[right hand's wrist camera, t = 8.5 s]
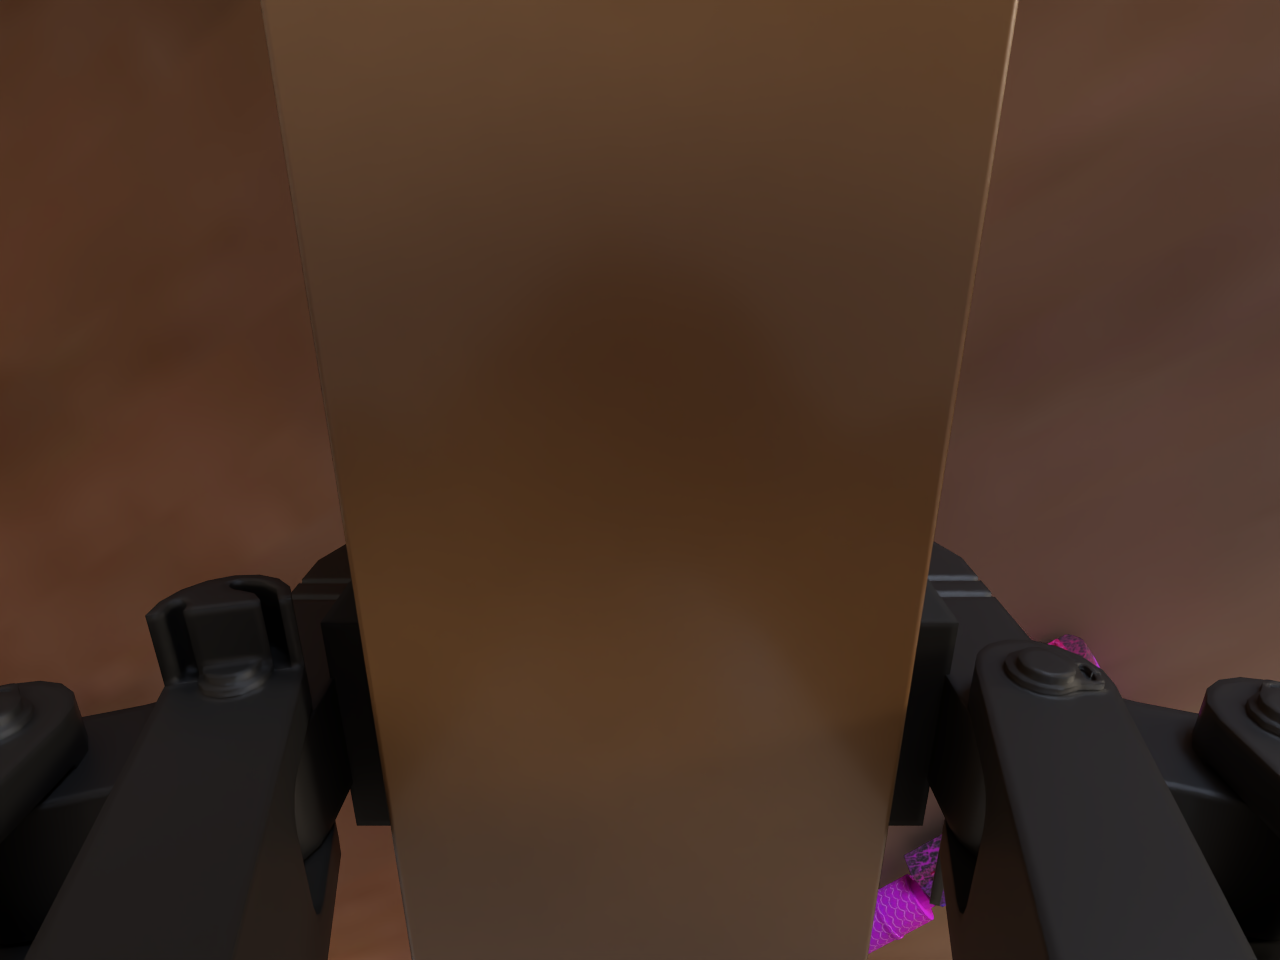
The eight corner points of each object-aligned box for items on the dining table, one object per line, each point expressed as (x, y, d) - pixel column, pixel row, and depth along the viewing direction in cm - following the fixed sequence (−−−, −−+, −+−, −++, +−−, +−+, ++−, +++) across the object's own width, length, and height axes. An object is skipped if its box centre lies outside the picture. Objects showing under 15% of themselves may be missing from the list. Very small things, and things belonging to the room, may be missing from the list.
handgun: (1068, 624, 27) (1097, 655, 26) (1169, 754, 30) (1202, 792, 28) (639, 893, 33) (638, 934, 31) (749, 988, 35) (754, 1032, 33)
